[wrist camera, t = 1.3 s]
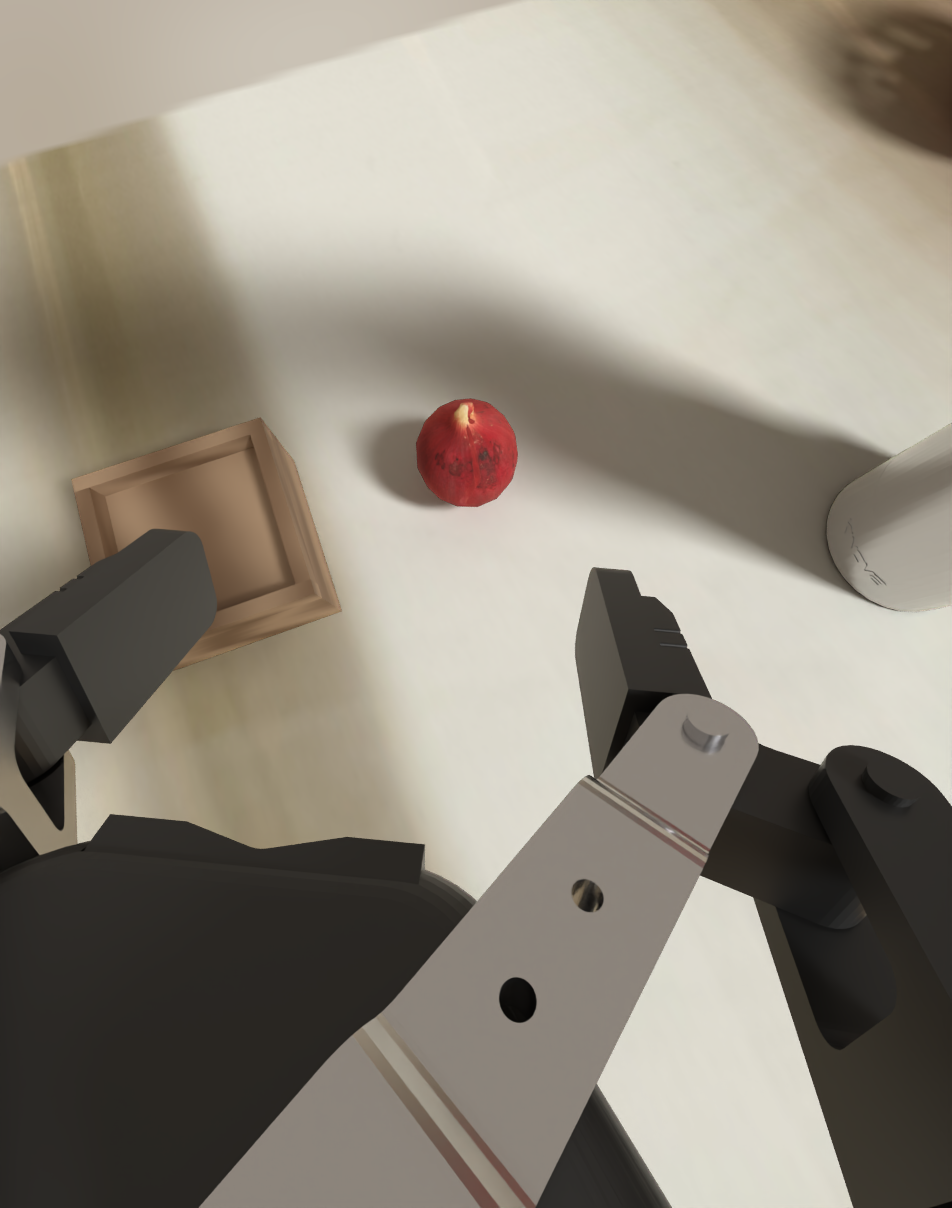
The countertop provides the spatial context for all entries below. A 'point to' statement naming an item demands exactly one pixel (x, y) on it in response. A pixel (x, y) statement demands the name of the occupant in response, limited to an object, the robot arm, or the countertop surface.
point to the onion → (467, 453)
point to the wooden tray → (221, 528)
